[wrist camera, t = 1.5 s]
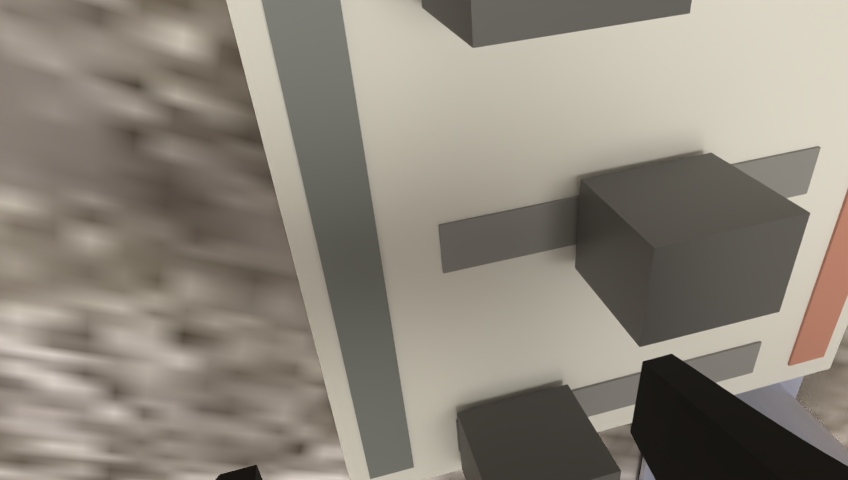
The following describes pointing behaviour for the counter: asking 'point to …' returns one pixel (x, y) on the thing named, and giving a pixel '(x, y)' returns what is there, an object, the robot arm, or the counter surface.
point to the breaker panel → (529, 206)
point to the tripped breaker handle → (686, 246)
